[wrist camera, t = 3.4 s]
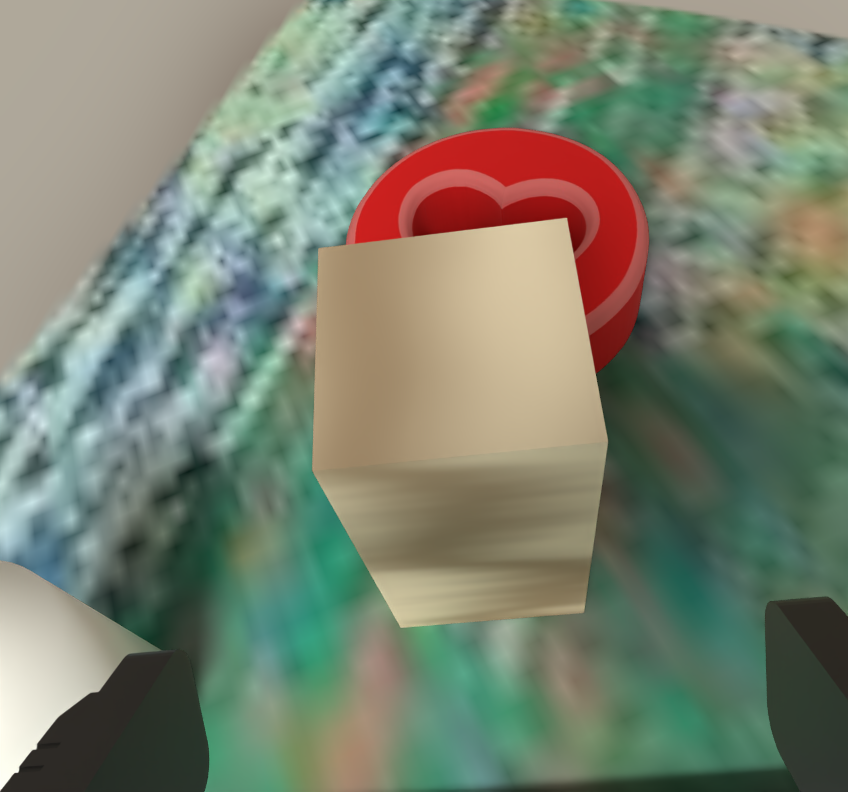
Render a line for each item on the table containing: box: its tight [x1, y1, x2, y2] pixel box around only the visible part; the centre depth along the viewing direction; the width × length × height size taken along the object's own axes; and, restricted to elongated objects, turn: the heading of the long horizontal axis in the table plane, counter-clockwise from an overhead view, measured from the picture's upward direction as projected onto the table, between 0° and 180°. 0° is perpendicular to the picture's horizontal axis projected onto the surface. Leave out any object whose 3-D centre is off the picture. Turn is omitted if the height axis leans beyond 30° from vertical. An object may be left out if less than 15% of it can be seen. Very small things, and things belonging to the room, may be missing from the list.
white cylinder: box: [0, 561, 162, 790], centre depth 19 cm, size 4×4×7 cm
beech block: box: [312, 218, 608, 628], centre depth 19 cm, size 5×5×10 cm
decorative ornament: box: [346, 128, 649, 373], centre depth 27 cm, size 10×10×3 cm
